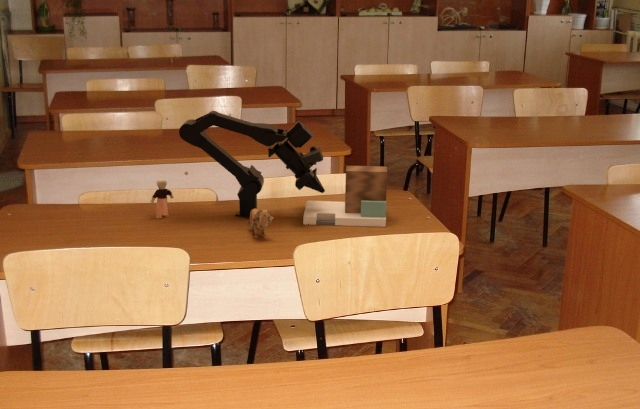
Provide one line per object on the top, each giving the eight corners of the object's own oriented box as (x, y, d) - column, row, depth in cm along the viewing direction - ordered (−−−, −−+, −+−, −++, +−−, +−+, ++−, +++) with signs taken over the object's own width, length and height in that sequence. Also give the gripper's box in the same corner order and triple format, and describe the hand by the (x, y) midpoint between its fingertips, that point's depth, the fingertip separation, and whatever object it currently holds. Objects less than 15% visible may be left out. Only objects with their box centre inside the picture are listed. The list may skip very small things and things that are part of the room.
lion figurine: (275, 239, 236) (275, 211, 233) (258, 242, 234) (258, 213, 231) (256, 223, 248) (256, 196, 245) (240, 226, 246) (240, 199, 243)
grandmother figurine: (157, 220, 250) (155, 182, 246) (150, 217, 252) (148, 179, 248) (176, 214, 255) (175, 177, 251) (169, 211, 258) (167, 174, 254)
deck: (303, 224, 248) (303, 201, 246) (306, 207, 263) (306, 186, 261) (385, 226, 247) (386, 204, 245) (384, 209, 262) (385, 188, 260)
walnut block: (344, 212, 251) (345, 170, 247) (345, 206, 257) (346, 165, 253) (385, 214, 251) (387, 172, 246) (385, 207, 256) (386, 166, 252)
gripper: (307, 148, 239) (341, 184, 242) (310, 133, 256) (343, 167, 259) (280, 171, 241) (315, 207, 245) (286, 155, 259) (318, 189, 262)
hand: (323, 191), depth 253 cm, fingers closed
